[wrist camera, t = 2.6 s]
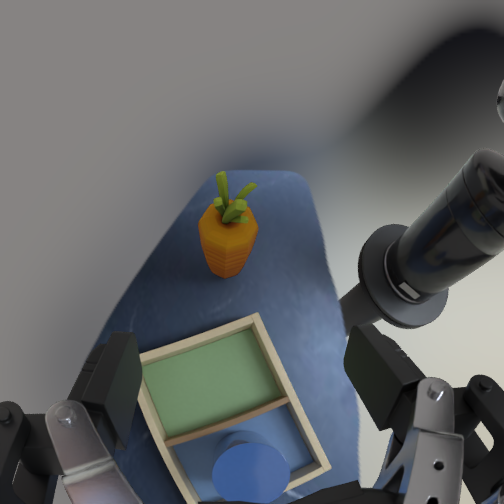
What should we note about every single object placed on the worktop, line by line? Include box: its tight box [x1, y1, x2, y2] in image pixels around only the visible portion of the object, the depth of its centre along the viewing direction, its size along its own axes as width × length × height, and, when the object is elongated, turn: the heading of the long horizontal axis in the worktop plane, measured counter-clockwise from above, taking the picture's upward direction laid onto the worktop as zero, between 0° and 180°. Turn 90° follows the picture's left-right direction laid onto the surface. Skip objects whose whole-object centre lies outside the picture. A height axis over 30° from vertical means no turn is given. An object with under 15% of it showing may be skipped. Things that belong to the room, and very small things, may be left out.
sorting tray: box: [137, 312, 332, 504], centre depth 24 cm, size 14×18×3 cm
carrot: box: [198, 171, 258, 279], centre depth 26 cm, size 5×5×15 cm
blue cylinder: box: [212, 430, 290, 504], centre depth 20 cm, size 6×6×7 cm
